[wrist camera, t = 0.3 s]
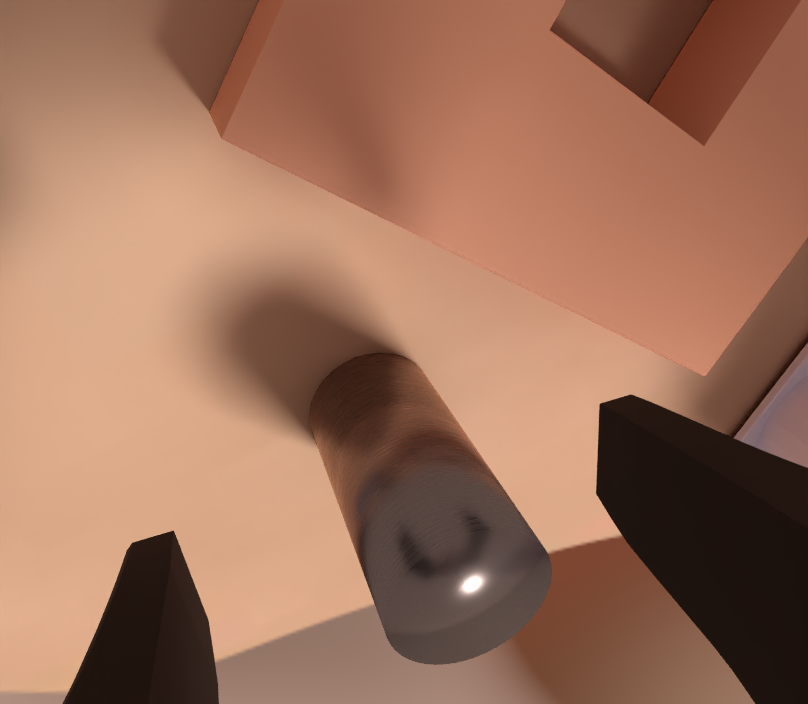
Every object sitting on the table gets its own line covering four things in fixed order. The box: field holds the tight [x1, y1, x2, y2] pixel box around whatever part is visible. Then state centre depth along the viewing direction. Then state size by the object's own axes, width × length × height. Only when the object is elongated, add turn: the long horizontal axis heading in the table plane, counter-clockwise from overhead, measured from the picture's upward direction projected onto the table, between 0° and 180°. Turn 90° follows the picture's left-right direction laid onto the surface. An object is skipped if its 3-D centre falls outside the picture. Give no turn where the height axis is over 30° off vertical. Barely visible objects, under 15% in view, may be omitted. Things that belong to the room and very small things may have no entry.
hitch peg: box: [310, 353, 552, 665], centre depth 19 cm, size 4×4×8 cm
